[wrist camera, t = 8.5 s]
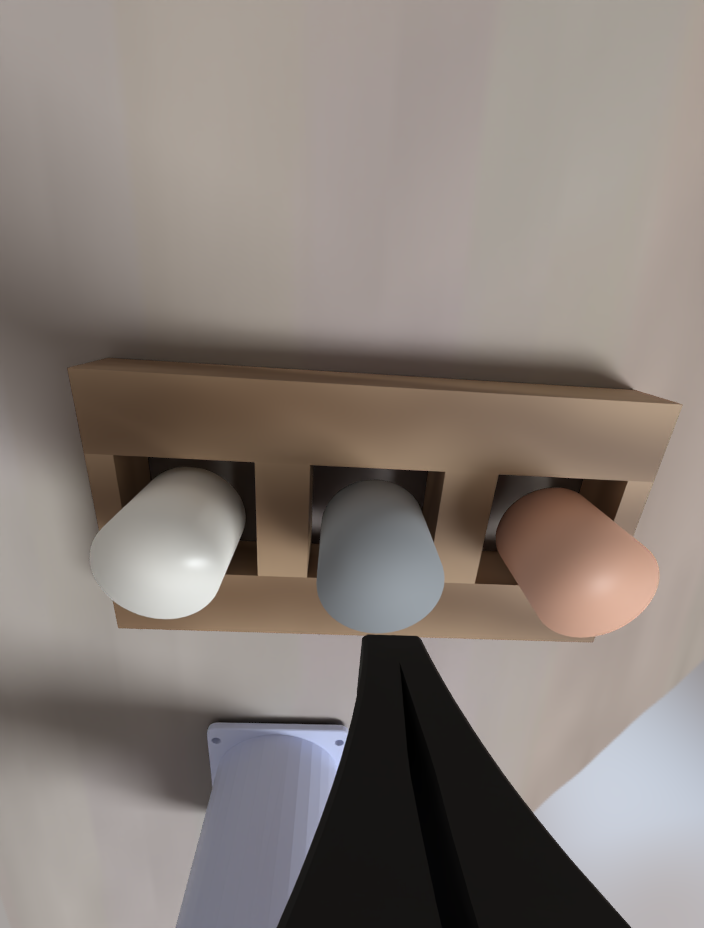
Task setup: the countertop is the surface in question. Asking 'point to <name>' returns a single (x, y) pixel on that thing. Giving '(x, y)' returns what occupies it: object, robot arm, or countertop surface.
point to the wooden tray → (366, 446)
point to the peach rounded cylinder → (575, 563)
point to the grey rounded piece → (377, 559)
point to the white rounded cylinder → (170, 544)
